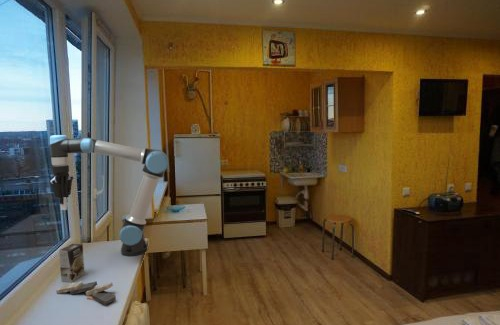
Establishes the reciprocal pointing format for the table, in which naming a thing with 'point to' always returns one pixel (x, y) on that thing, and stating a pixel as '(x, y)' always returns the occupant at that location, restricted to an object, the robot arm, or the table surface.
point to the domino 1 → (69, 287)
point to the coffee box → (71, 262)
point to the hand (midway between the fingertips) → (64, 209)
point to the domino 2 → (84, 288)
